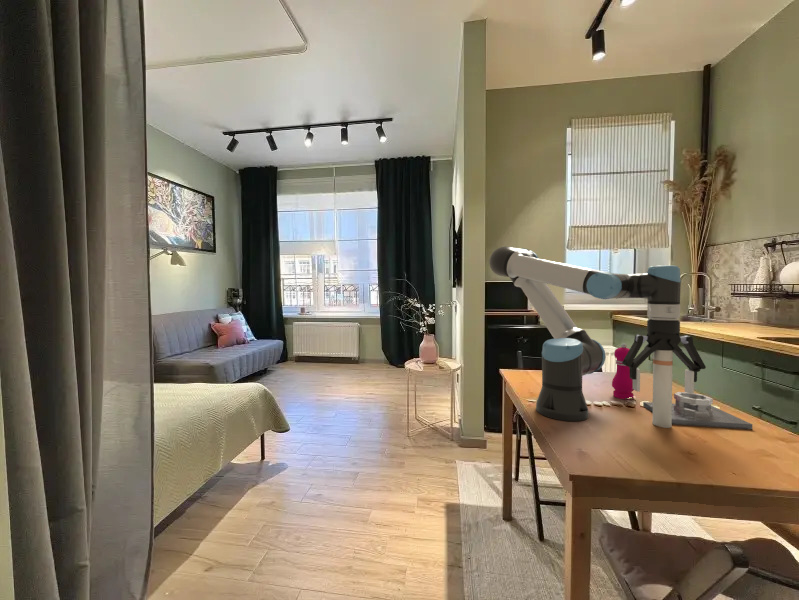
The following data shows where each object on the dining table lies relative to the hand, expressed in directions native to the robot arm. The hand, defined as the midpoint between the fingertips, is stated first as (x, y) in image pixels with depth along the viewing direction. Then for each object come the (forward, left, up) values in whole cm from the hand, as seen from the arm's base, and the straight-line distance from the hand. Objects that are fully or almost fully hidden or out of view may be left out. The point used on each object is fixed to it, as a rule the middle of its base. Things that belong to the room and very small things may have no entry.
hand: (662, 391), depth 98 cm
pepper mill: (+1, +27, -10) cm, 29 cm away
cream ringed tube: (0, 0, -10) cm, 10 cm away
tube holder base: (+13, +9, -10) cm, 19 cm away
